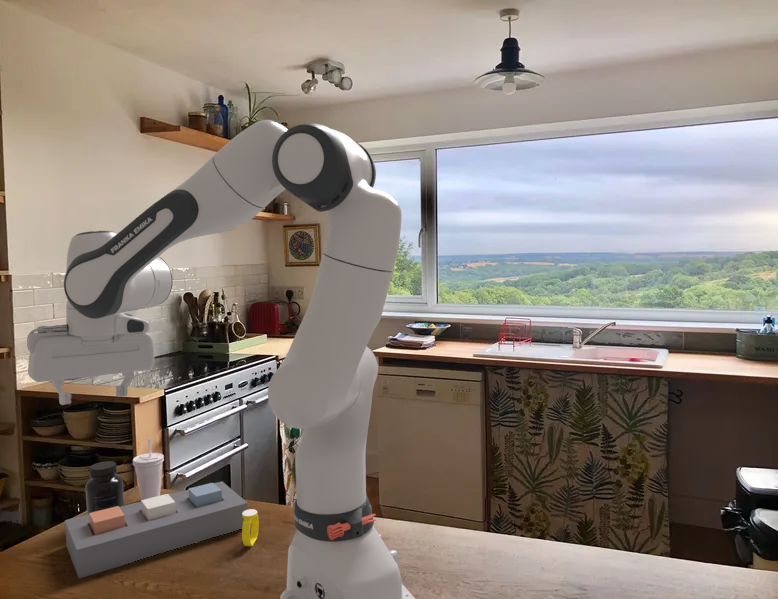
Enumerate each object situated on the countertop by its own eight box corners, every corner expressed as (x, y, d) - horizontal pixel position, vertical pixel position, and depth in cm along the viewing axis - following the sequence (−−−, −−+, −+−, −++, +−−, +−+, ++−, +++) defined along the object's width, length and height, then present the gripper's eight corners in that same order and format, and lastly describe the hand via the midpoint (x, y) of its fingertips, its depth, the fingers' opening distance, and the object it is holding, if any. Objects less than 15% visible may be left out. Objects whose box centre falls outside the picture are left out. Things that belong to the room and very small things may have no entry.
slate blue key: (213, 503, 123) (212, 482, 123) (222, 511, 119) (221, 490, 119) (189, 509, 120) (188, 488, 120) (197, 518, 116) (196, 496, 116)
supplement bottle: (87, 520, 123) (83, 463, 122) (123, 512, 126) (120, 456, 125) (88, 533, 117) (84, 473, 116) (126, 525, 120) (123, 467, 119)
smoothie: (155, 507, 128) (151, 443, 127) (128, 505, 129) (124, 442, 128) (171, 495, 134) (168, 434, 133) (146, 493, 136) (142, 433, 134)
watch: (254, 551, 109) (252, 521, 108) (239, 551, 109) (236, 521, 108) (263, 533, 115) (261, 504, 114) (248, 533, 115) (247, 504, 114)
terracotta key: (119, 528, 113) (118, 505, 112) (125, 538, 109) (124, 515, 108) (90, 536, 110) (89, 513, 109) (95, 546, 106) (94, 522, 105)
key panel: (223, 503, 129) (222, 481, 129) (248, 527, 118) (247, 502, 117) (66, 546, 112) (64, 520, 111) (78, 578, 100) (76, 549, 100)
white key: (169, 515, 118) (167, 493, 118) (176, 524, 114) (175, 502, 114) (142, 522, 115) (141, 500, 115) (149, 532, 111) (147, 509, 111)
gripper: (31, 329, 96) (32, 413, 98) (158, 322, 110) (157, 395, 112) (22, 323, 101) (23, 404, 102) (145, 317, 115) (144, 388, 116)
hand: (94, 399), depth 107 cm, fingers open, 8 cm apart
